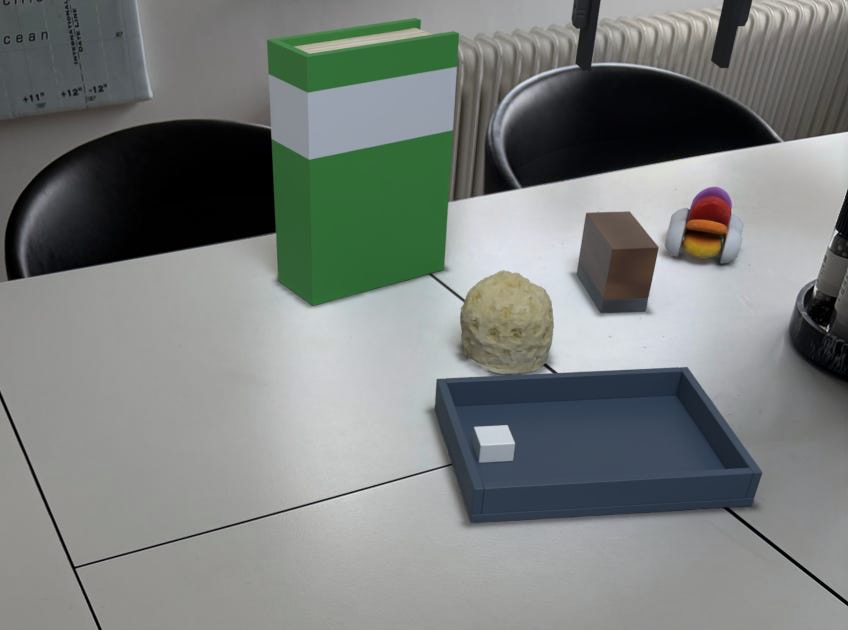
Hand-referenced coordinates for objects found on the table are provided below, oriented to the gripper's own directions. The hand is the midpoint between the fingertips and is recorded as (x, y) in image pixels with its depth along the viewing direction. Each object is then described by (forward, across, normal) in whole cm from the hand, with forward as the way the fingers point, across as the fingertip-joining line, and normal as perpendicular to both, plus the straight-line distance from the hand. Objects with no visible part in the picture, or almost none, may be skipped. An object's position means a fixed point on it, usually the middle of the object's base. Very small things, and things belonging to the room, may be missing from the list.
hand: (651, 66), depth 100 cm
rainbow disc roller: (+23, -14, -10) cm, 29 cm away
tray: (+23, +12, +32) cm, 41 cm away
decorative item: (+23, +15, +13) cm, 30 cm away
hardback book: (+23, +27, -7) cm, 36 cm away
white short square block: (+22, +20, +32) cm, 44 cm away
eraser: (+23, 0, 0) cm, 23 cm away
